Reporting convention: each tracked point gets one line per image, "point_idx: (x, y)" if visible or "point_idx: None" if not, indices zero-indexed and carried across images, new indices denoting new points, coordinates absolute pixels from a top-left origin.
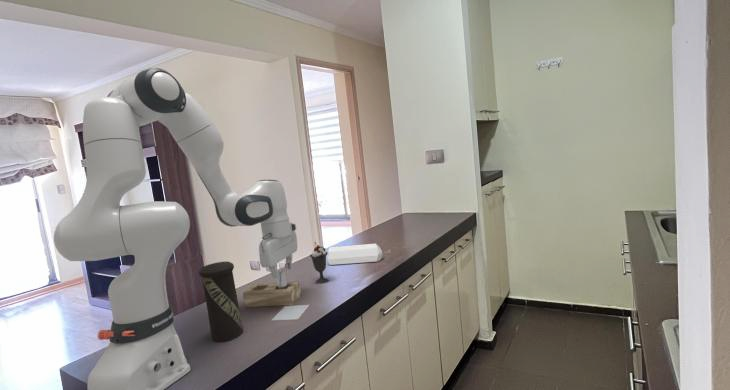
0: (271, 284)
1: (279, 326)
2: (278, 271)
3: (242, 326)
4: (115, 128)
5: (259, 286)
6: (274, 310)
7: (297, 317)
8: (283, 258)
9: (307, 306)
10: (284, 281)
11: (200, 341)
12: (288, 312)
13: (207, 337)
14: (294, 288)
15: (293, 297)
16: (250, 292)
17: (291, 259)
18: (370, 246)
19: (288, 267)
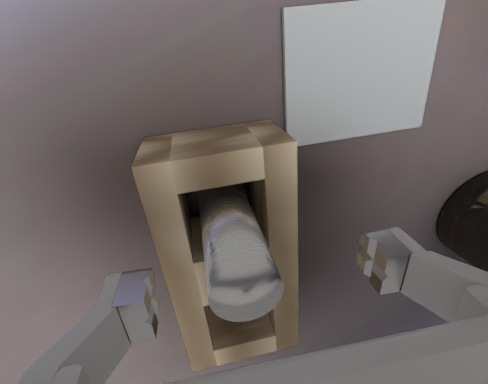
0: (195, 301)
1: (469, 62)
2: (394, 258)
3: (486, 187)
4: None
5: (211, 338)
6: (311, 176)
7: (427, 4)
8: (385, 346)
9: (304, 9)
10: (246, 221)
11: None
12: (360, 88)
13: (463, 259)
14: (225, 147)
15: (250, 130)
16: (298, 321)
17: (76, 341)
18: None
19: (153, 287)
